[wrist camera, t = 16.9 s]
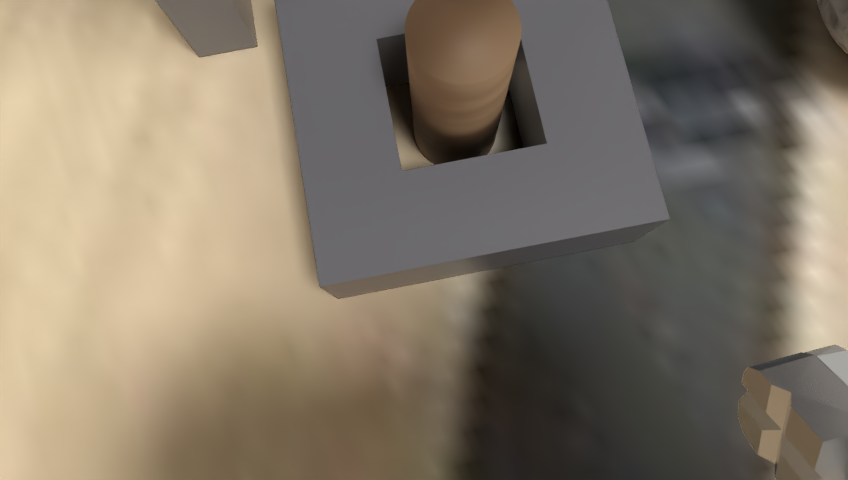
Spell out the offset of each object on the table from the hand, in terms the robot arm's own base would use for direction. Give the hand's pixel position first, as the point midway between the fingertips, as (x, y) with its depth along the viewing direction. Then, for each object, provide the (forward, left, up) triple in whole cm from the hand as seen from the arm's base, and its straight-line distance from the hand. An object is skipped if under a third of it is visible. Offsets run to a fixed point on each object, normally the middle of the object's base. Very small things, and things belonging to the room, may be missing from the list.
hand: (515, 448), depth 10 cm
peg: (+4, -12, -17) cm, 21 cm away
